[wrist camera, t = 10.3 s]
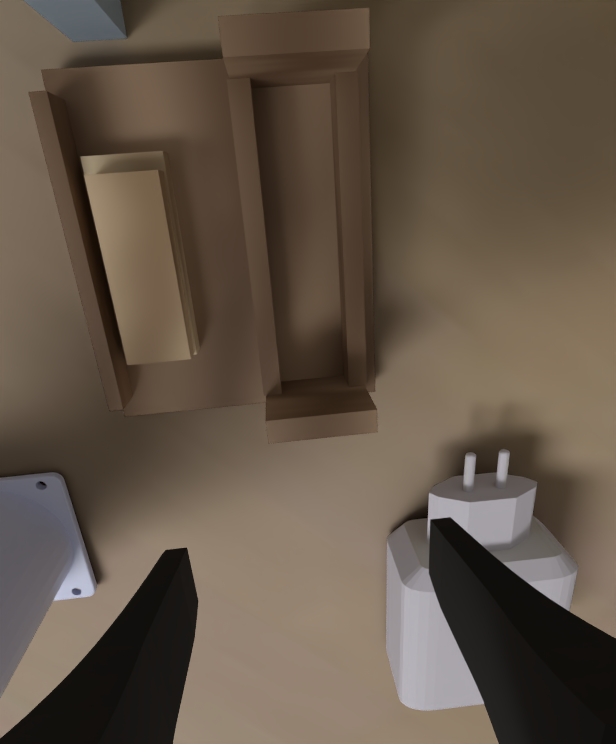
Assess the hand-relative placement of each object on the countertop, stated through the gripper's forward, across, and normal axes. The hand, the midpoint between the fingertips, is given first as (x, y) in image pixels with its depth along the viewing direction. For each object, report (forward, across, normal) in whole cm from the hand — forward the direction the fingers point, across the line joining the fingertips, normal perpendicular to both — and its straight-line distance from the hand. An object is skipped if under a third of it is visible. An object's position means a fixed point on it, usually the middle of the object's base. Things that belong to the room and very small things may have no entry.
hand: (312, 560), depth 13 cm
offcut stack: (+9, +6, -8) cm, 14 cm away
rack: (+10, +2, -8) cm, 13 cm away
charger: (+11, -9, +10) cm, 17 cm away
